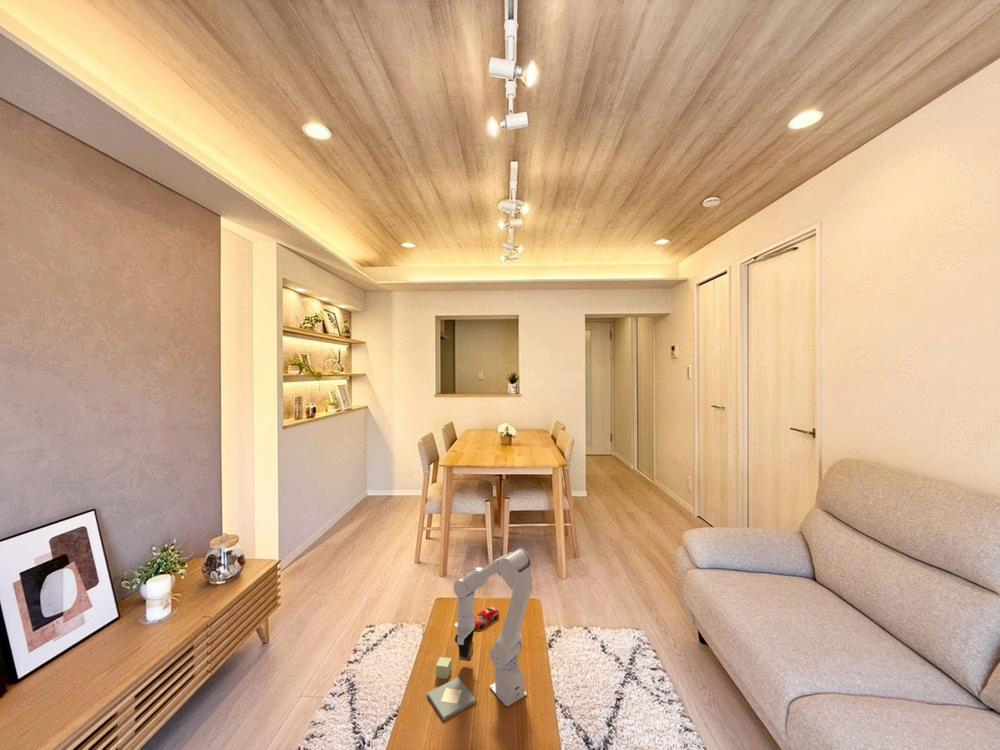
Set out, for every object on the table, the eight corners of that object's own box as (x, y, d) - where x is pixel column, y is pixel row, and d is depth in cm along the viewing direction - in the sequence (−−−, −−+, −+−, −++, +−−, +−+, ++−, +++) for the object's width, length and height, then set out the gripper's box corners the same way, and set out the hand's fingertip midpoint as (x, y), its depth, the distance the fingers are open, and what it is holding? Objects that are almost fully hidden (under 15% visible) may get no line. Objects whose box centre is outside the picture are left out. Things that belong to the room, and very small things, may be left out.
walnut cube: (473, 653, 138) (473, 641, 138) (470, 661, 134) (470, 649, 134) (462, 652, 138) (461, 640, 138) (458, 659, 134) (458, 648, 134)
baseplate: (476, 702, 120) (475, 699, 120) (443, 720, 114) (443, 716, 114) (458, 680, 129) (458, 676, 129) (427, 696, 123) (427, 692, 123)
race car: (477, 632, 154) (477, 622, 154) (468, 626, 158) (468, 616, 158) (501, 617, 163) (501, 607, 164) (492, 612, 167) (491, 602, 167)
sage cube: (451, 670, 134) (451, 658, 134) (447, 679, 130) (447, 666, 130) (440, 668, 134) (440, 657, 134) (436, 677, 130) (436, 665, 131)
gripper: (460, 600, 144) (460, 637, 144) (448, 624, 130) (448, 665, 129) (478, 601, 143) (479, 639, 143) (469, 626, 128) (469, 668, 128)
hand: (466, 652), depth 136 cm, fingers closed on walnut cube, 4 cm apart
